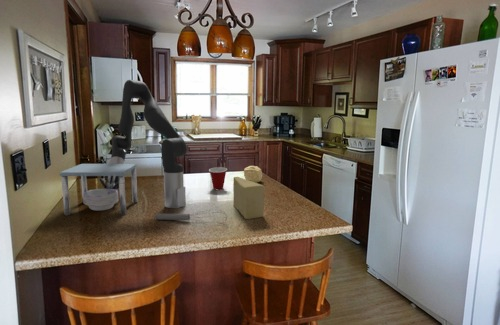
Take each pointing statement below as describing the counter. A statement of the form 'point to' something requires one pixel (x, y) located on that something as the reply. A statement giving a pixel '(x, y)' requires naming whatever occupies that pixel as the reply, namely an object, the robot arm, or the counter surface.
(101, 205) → the paper bowls
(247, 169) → the beige textured ball
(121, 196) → the small side table
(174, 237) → the counter surface
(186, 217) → the kitchen whisk
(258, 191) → the beige rectangular block
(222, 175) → the plastic cup
